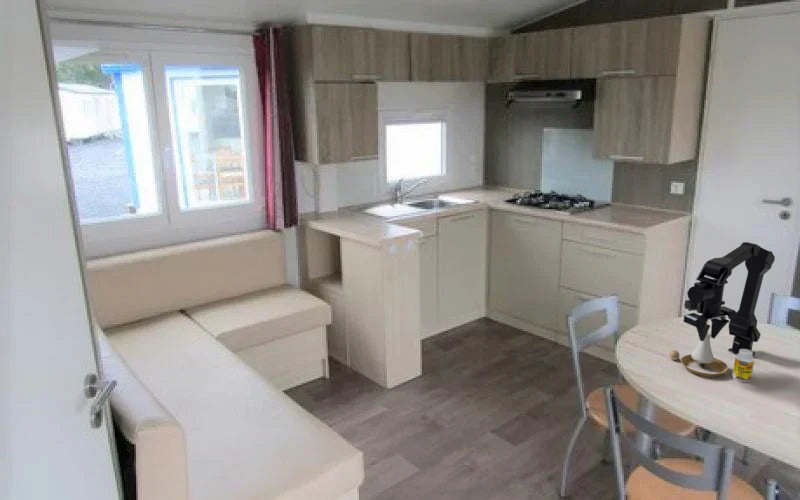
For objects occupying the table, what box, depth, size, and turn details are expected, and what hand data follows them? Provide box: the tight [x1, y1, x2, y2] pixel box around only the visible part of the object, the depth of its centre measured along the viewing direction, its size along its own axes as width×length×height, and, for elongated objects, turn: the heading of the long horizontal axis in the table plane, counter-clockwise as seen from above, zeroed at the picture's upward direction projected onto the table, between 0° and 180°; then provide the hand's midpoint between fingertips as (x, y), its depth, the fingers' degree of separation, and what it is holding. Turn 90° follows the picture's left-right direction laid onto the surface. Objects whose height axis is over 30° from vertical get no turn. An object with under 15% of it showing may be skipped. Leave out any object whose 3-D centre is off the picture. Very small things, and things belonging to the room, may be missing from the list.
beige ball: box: [668, 349, 681, 361], centre depth 212 cm, size 4×4×4 cm
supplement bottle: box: [731, 349, 755, 383], centre depth 196 cm, size 6×6×10 cm
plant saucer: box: [680, 353, 729, 378], centre depth 205 cm, size 15×15×3 cm
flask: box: [691, 331, 715, 364], centre depth 206 cm, size 7×7×10 cm
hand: (707, 339), depth 203 cm, fingers open, 5 cm apart
